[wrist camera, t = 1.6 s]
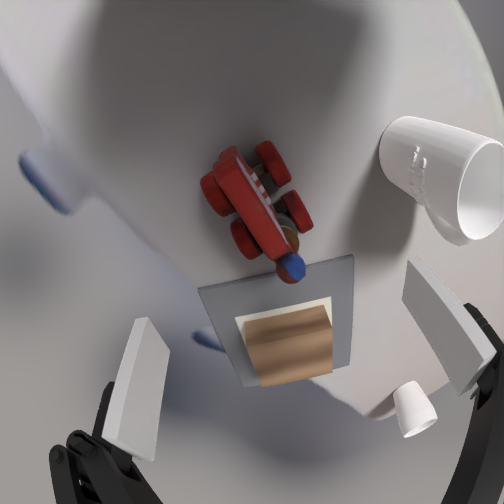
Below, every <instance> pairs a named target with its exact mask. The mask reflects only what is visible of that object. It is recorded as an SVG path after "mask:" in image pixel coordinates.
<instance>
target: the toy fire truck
mask: <svg viewBox="0 0 504 504" xmlns="http://www.w3.org/2000/svg"><path fill="white" fill-rule="evenodd" d="M255 151H256V153H257V155H258V157H259V158H260V160H261V162H262V164H259V165H257V166H255V167H253V168H250V167H249V166H248V164H247V163H246V161H245V160H244V158H243V156H242V155H241V153H240V152H239V150H238V149H237V147H236V146H232V147H230V148H229V149H227V150H226V151H224V152H222V153H221V154H220V159H219V161H218V162H216V163H215V165H214V168H213V171H211V172H209V173H207V174H206V175H204V176H203V177H202V178H201V180H200V184H201V188H202V190H203V193H204V195H205V197H206V199H207V200H208V202H209V204H210V205H211V206H212V208H213V209H214V210H215V211H216V212H217V213H218V214H219V215H220V216H222V217H225V216H228V215H229V214H231V213H233V212H235V211H237V212H238V214H239V215H240V218H238V219H236V220H234V221H233V222H232V223H231V225H230V228H231V232H232V235H233V238H234V240H235V242H236V244H237V246H238V248H239V250H240V251H241V253H242V254H243V255H244V256H245V257H246V258H247V259H249V260H251V259H254V258H256V257H258V256H260V255H261V254H263V251H264V253H265V254H266V256H267V257H268V258H269V259H271V260H273V261H274V262H275V263H276V271H277V274H278V277H279V278H280V279H281V280H282V281H283V282H285V283H287V284H295V283H298V282H299V281H300V280H302V278H303V277H305V276H306V272H305V271H306V266H305V263H304V261H303V259H302V258H301V257H300V255H299V253H298V249H299V239H298V236H297V229H298V231H299V232H300V233H302V234H303V233H305V232H307V231H309V230H311V229H312V228H313V222H312V220H311V218H310V216H309V214H308V212H307V210H306V208H305V206H304V204H303V202H302V201H301V199H300V197H299V195H298V194H297V192H296V191H295V190H291V191H289V192H287V193H286V194H284V195H282V196H281V199H282V201H283V203H284V205H285V207H286V209H287V211H286V212H284V213H277V212H276V211H275V209H274V207H273V206H272V202H271V200H270V198H269V196H268V194H267V192H266V191H265V189H264V187H263V186H262V184H261V182H260V181H259V179H258V178H259V177H261V176H263V175H265V174H267V173H268V174H269V175H270V177H271V178H272V180H273V182H274V184H275V185H276V186H277V187H282V186H283V185H285V184H287V183H289V182H290V181H291V175H290V173H289V171H288V169H287V167H286V165H285V163H284V161H283V160H282V158H281V156H280V155H279V153H278V151H277V150H276V148H275V147H274V145H273V144H272V142H271V141H269V140H268V141H265V142H263V143H261V144H259V145H257V146H256V147H255ZM296 228H297V229H296Z"/></svg>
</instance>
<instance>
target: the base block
mask: <svg viewBox="0 0 504 504" xmlns="http://www.w3.org/2000/svg"><path fill="white" fill-rule="evenodd" d="M245 339H246V348H247V350H248V353H249V355H250V358H251V360H252V363H253V365H254V368H255V370H256V373H257V375H258V377H259V380H260V382H261V385H262V387H266V386H273V385H278V384H284V383H289V382H294V381H299V380H303V379H308V378H312V377H316V376H320V375H324V374H328V373H332V366H333V341H332V325H331V323H330V320H329V317H328V315H327V312H326V309H325V307H324V305H319V306H315V307H311V308H307V309H303V310H298V311H294V312H289V313H285V314H280V315H275V316H271V317H266V318H261V319H256V320H251V321H245Z"/></svg>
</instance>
